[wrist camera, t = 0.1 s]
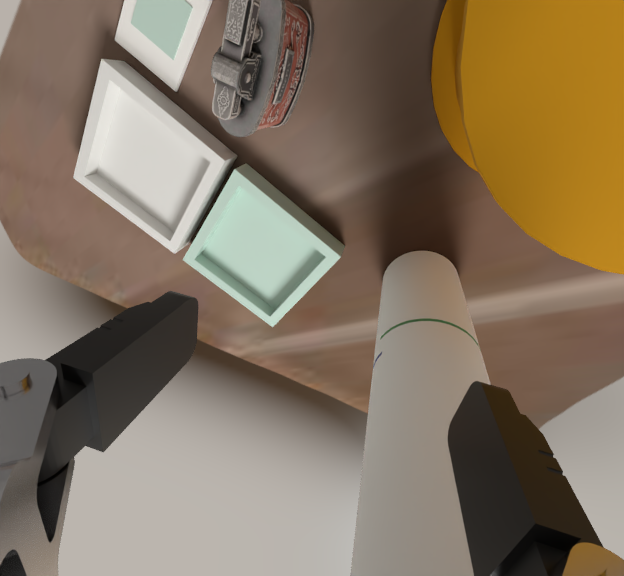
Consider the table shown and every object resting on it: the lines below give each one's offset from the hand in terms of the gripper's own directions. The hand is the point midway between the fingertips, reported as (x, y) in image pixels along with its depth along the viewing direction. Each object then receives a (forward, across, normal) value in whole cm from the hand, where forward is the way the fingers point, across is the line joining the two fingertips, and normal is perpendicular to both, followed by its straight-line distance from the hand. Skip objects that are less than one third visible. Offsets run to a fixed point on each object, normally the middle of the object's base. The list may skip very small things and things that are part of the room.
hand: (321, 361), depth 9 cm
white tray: (+22, +21, 0) cm, 31 cm away
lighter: (+21, +9, -9) cm, 25 cm away
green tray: (+23, +9, +6) cm, 26 cm away
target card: (+21, +19, -11) cm, 31 cm away
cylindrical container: (+24, -7, +6) cm, 25 cm away
